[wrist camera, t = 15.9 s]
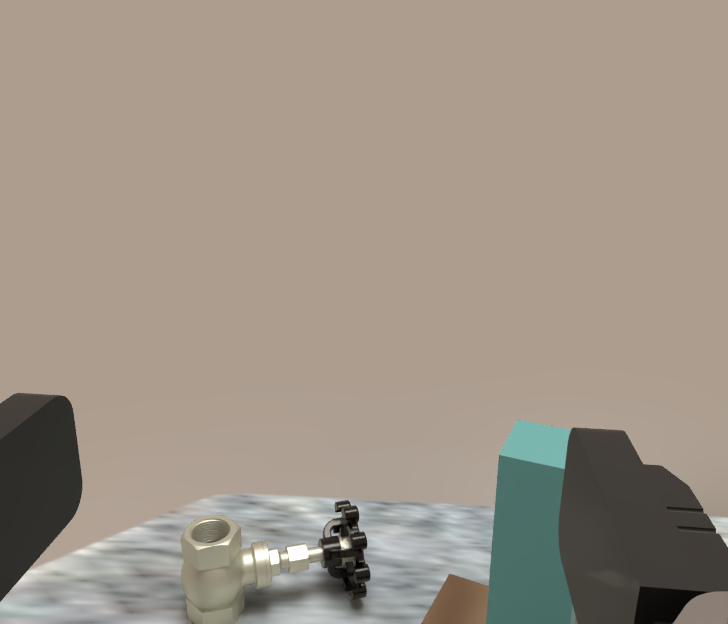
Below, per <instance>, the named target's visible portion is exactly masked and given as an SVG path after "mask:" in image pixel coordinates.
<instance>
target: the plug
mask: <svg viewBox="0 0 728 624" xmlns="http://www.w3.org/2000/svg"><path fill="white" fill-rule="evenodd" d="M570 432H571V430H568V429H563V428H558V427H552V426H547V425H542V424H536V423H531V422H526V421H521V420H517V421H516V423H515V425H514V427H513V429H512V431H511V433H510V435H509V437H508V439H507V441H506V443H505V445H504V447H503V449H502V450H501V452H500V454H499V464H498V476H497V489H496V502H495V515H494V527H493V540H492V553H491V566H490V579H489V591H488V604H487V617H486V624H575V612H574V608H573V605H572V601H571V597H570V593H569V589H568V585H567V581H566V577H565V574H564V570H563V566H562V562H561V557H560V550H559V536H558V527H559V513H560V504H561V496H562V487H563V479H564V470H565V462H566V453H567V445H568V439H569V434H570Z"/></svg>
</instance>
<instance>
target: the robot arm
mask: <svg viewBox="0 0 728 624" xmlns="http://www.w3.org/2000/svg"><path fill="white" fill-rule="evenodd" d="M81 494H82V475H81V468H80V460H79V453H78V445H77V436H76V429H75V421H74V414H73V408H72V405H71V403H70V401H69V400H68V399H67V398H66V397H65V396H59V395H43V394H26V393H17V394H14V395H12V396H11V397H9V398H8V399H6V400H5V401H3V402H2V403H1V404H0V601H1V600H2V599H3V598H4V597H5V596H6V595H7V593H8V592H9V591H10V590H11V589H12V588H13V586H14V585H15V584H16V583H17V582H18V581H19V580H20V578H21V577H22V576H23V575H24V574H25V573H26V572H27V570H28V569H29V568H30V567H31V566H32V565H33V563H34V562H35V561H36V560H37V559H38V558H39V557H40V555H41V554H42V553H43V552H44V551H45V550H46V548H47V547H48V546H49V545H50V544H51V543H52V542H53V540H54V539H55V538H56V537H57V536H58V535H59V533H60V532H61V531H62V530H63V529H64V528H65V527H66V525H67V524H68V523H69V522H70V520H71V519H72V518H73V517H74V515H75V513H76V511H77V509H78V506H79V503H80V499H81ZM558 536H559V550H560V557H561V562H562V566H563V570H564V574H565V577H566V581H567V585H568V589H569V593H570V597H571V601H572V605H573V608H574V612H575V616H576V620H577V624H728V547H727V546H726V544H725V542H724V541H723V539H722V538H721V536H720V535H719V534H716V528H715V527H714V525H713V524H712V522H711V520H710V519H709V517H708V516H707V514H704V513H703V508H702V506H701V505H700V503H699V501H698V500H697V498H696V497H695V495H694V494H693V492H692V490H691V489H690V487H689V486H688V485H687V484H685V483H684V482H682V481H681V480H680V479H679V478H677V477H676V476H675V475H673V474H672V473H671V472H669V471H668V470H667V469H665V468H664V467H662V466H659V465H644V464H643V463H642V462H641V460H640V458H639V456H638V455H637V452H636V450H635V449H634V447H633V445H632V443H631V441H630V440H629V438H628V436H627V434H626V433H625V432H624V431H621V430H605V429H589V428H572V430H571V432H570V434H569V439H568V445H567V453H566V462H565V470H564V479H563V487H562V496H561V504H560V513H559V527H558Z"/></svg>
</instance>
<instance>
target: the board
mask: <svg viewBox="0 0 728 624" xmlns="http://www.w3.org/2000/svg"><path fill="white" fill-rule="evenodd" d="M488 591H489V586H486V585H483V584H480V583H477V582H474V581H471V580H467V579H464V578H461V577H458V576H455V575H452V574H449V576H448V577H447V579H446V581H445V583H444V585H443V586H442V588H441V590H440V592H439V593H438V595H437V597H436V599H435V600H434V602H433V604H432V606H431V607H430V609H429V611H428V613H427V614H426V616H425V618H424V620H423V622H422V623H421V624H486V617H487V604H488ZM575 624H577V620H576V616H575Z"/></svg>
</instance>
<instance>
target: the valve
mask: <svg viewBox="0 0 728 624" xmlns="http://www.w3.org/2000/svg"><path fill="white" fill-rule="evenodd" d="M335 512H341V513H342V517H341V518H336V519H333V520H331V521H330V522H328V523H327V524H326V526H325V528H324V531H323V538H321V539H319V542H318V547H313V548H307V546H306V544H304V543H302V544H296V545H290V546H285V551H283V552H278V550H277V549H276V548H273V549H269V548H268V544H267V542H266V541H259V542H253V543H251V548H248V549H243V550H240V549H241V547H242V545H241V527H240V526H239V525H238V524H237V523H235V522H234V521H233V520H232V519H230V518H228V517H226V516H220V515H215V516H207V517H203V518H199V519H196V520H194V521H193V522H192V523H191V524H190V525H189V526H188V527H187V528H186V530H185V531H184V533H183V534H182V536H181V546H182V557H183V558H184V559H185V560H184V562H183V565H182V571H181V581H182V586H183V589H184V591H185V593H186V595H187V598H186V605H187V617H188V619H189V620H190V621H192V622H193V623H194V624H235V623H236V621H237V620H238V618H239V616H240V614H241V612H242V611H243V609H244V607H245V602H244V588H243V587H244V586H247V585H252V584H254V585H255V587H256V589H259V588H265V587H270V586H271V585H272V576H278V575H280V571H281V570H283V569H288V572H289V573H294V572H299V571H305V570H308V569H309V563H314V562H320V561H321V565H322V567H323V568H327V570H328V572H329V574H330V575H331V576H332V577H334V578H338V579H341V578H342V585H343V588H344V590H350V589H352V591H349V593H350V597H351V599H358V598H363V597H366V594H367V591H366V585H365V582H367V581H370V570H369V566H368V564H365V561H364V553H363V549H366V548H367V538H366V535H365V533H364V532H359V528H358V521H359V512H358V508H357V506H355V505H354V506H351V505H350V502H349V501H348V500H346V501H340V502H335ZM332 530H333V532H334V533H339V535H338V536H331V531H332ZM349 535H350V536H349ZM353 561H354V563H353ZM340 565H344V568H339V569H338V568H335V566H340Z"/></svg>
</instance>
